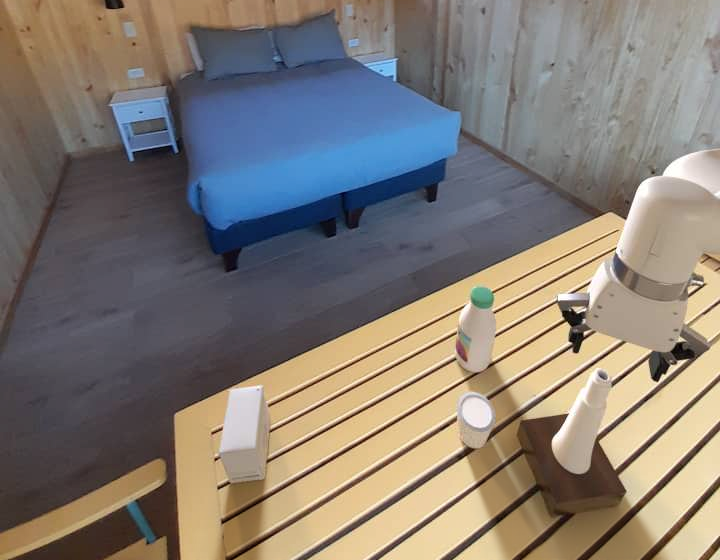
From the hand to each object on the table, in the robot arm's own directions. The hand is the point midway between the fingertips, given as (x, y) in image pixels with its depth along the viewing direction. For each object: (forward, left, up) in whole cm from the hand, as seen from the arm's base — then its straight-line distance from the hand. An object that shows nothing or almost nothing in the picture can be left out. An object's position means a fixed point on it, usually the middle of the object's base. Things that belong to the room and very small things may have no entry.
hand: (612, 357), depth 57 cm
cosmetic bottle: (0, 0, -26) cm, 26 cm away
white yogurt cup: (+16, +1, -31) cm, 35 cm away
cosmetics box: (+53, +21, -31) cm, 65 cm away
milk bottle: (+19, -14, -31) cm, 39 cm away
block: (0, 0, -31) cm, 31 cm away
